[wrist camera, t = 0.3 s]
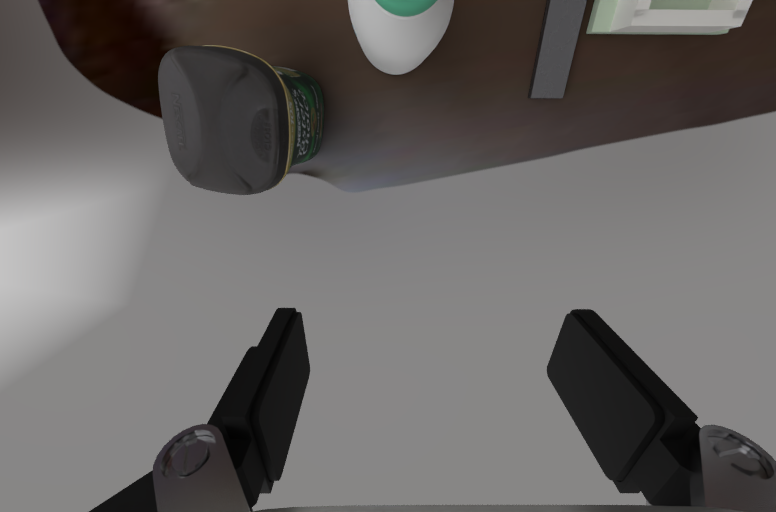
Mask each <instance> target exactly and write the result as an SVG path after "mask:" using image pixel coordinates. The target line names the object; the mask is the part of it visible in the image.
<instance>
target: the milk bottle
mask: <svg viewBox="0 0 776 512" xmlns="http://www.w3.org/2000/svg"><path fill="white" fill-rule="evenodd" d="M453 5H454V0H348V6H349V13H350V17H351V21H352V25H353V28H354V31H355V34H356V36H357V39H358V41H359V43H360V45H361V47H362V50H363V52H364V53H365V55H366V57H367V58H368V60H369V61H370V62H371V63H372V64H373V65H374V66H375V67H376V68H377V69H379V70H380V71H382V72H385V73H387V74H392V75H400V74H404V73H407V72H410V71H411V70H413V69H415V68H416V67H417V66H419V65H420V64H421V63H422V62H423V61H424V60H425V59H426V58H427V57H428V55H429V54H430V53H431V52H432V51H433V50H434V48H435V47H436V46H437V44H438V43H439V41H440V40H441V38H442V37H443V35H444V33H445V31H446V29H447V27H448V24H449V21H450V18H451V14H452V10H453Z"/></svg>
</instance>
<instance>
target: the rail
mask: <svg viewBox="0 0 776 512" xmlns="http://www.w3.org/2000/svg"><path fill="white" fill-rule="evenodd" d="M586 2H587V0H547V3H546V8H545V14H544V19H543V24H542V29H541V34H540V39H539V44H538V49H537V54H536V59H535V64H534V69H533V74H532V79H531V84H530V90H529V95H528V98H563V95H564V91H565V87H566V83H567V79H568V75H569V71H570V67H571V63H572V59H573V54H574V50H575V46H576V42H577V38H578V34H579V30H580V26H581V22H582V18H583V14H584V10H585V6H586Z"/></svg>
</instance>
